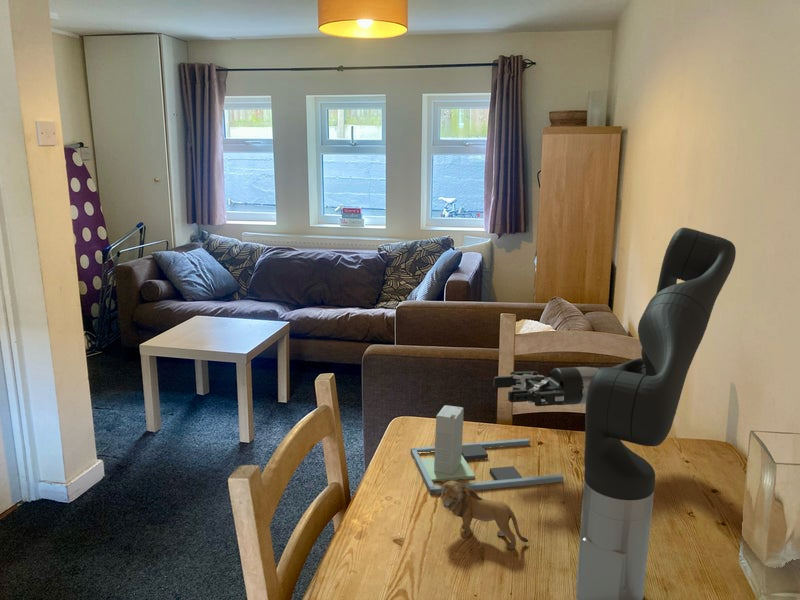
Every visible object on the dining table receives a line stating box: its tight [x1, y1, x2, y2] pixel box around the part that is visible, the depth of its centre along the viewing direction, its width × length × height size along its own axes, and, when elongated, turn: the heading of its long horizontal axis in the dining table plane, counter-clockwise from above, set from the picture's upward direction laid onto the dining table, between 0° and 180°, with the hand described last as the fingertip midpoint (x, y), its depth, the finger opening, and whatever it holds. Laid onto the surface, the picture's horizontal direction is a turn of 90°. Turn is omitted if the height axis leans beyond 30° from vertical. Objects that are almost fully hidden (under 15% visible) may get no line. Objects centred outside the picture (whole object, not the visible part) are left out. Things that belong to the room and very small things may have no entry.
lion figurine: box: [440, 480, 529, 550], centre depth 104 cm, size 15×5×9 cm, turn 73°
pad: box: [421, 456, 476, 483], centre depth 128 cm, size 9×9×1 cm
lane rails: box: [410, 438, 564, 495], centre depth 129 cm, size 27×18×1 cm
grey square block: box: [489, 465, 523, 481], centre depth 124 cm, size 5×5×1 cm
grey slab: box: [462, 444, 489, 461], centre depth 134 cm, size 5×5×1 cm
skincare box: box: [433, 404, 464, 474], centre depth 126 cm, size 6×4×12 cm
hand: (501, 389), depth 126 cm, fingers open, 8 cm apart
